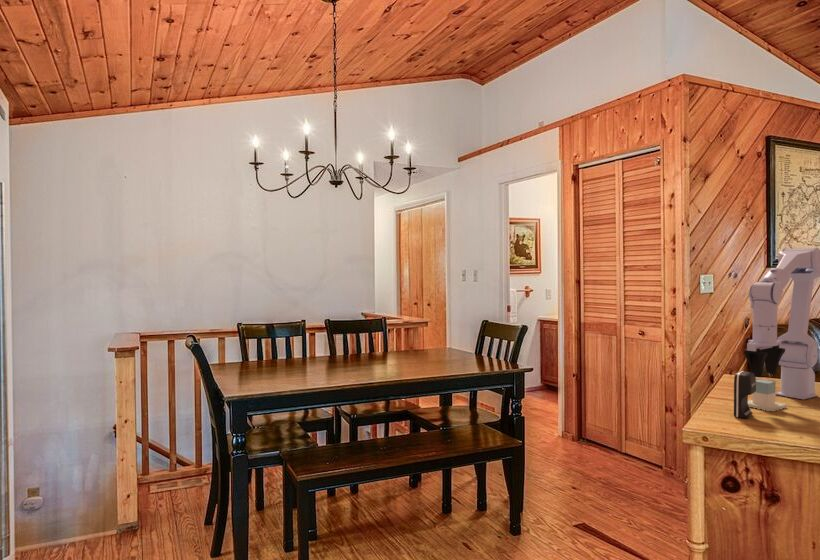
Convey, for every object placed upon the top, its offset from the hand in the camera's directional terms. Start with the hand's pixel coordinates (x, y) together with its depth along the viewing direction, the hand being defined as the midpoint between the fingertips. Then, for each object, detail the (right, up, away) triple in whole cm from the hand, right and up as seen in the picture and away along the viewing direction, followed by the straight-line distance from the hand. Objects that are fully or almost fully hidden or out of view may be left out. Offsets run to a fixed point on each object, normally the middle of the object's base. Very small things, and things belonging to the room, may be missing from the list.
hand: (764, 374), depth 158 cm
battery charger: (-11, -9, -10) cm, 17 cm away
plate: (0, -9, 0) cm, 9 cm away
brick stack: (0, -8, 0) cm, 8 cm away
